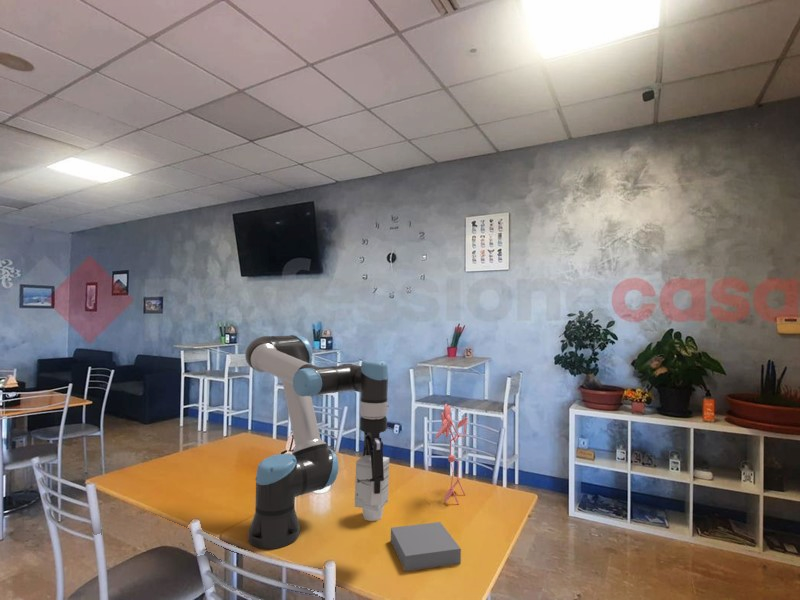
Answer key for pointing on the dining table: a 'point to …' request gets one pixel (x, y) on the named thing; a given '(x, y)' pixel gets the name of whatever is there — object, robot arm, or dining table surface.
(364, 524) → the dining table surface
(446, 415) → the pink stick sculpture
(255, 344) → the robot arm
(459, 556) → the block
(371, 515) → the foam cup
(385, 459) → the supplement box
